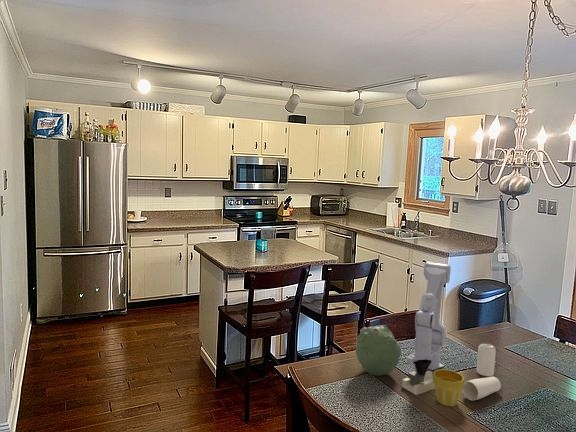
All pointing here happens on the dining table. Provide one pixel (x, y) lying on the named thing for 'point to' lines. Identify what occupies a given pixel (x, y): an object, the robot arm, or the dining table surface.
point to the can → (486, 359)
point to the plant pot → (448, 386)
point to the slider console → (420, 384)
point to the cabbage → (377, 350)
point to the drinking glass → (481, 387)
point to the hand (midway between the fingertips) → (420, 377)
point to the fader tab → (415, 378)
